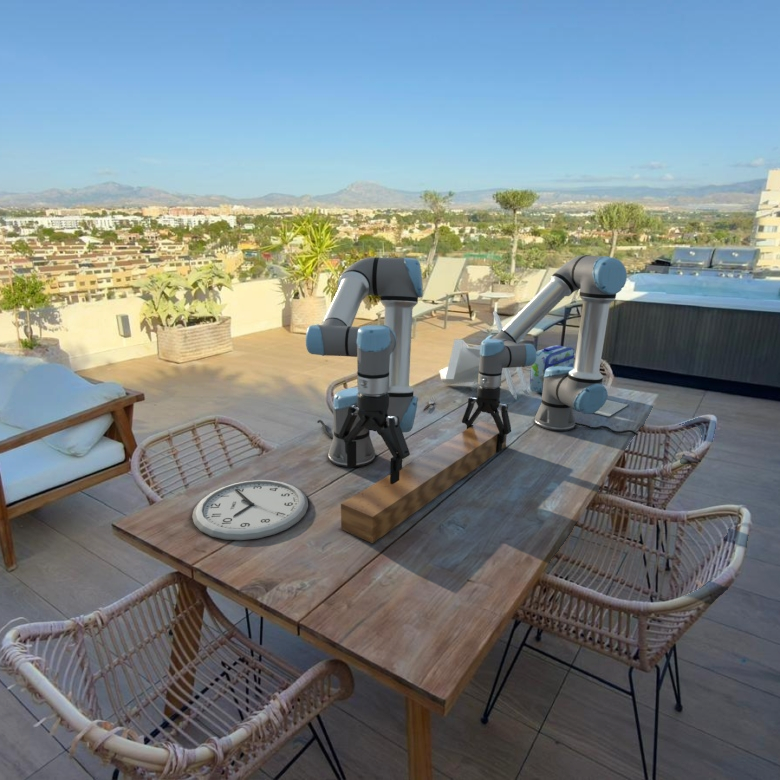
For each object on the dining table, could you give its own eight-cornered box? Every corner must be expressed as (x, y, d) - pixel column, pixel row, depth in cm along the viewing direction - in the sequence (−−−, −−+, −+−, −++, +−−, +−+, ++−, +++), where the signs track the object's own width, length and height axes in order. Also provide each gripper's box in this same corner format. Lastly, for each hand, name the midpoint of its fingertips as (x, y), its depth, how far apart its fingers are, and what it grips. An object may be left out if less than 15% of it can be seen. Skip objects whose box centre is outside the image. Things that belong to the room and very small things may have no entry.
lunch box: (546, 398, 236) (551, 353, 229) (525, 393, 243) (529, 349, 237) (573, 387, 253) (579, 344, 247) (553, 382, 260) (558, 341, 254)
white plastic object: (461, 429, 252) (437, 405, 227) (444, 352, 274) (420, 323, 250) (535, 404, 240) (518, 377, 215) (510, 326, 262) (492, 293, 237)
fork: (420, 411, 216) (420, 406, 216) (430, 400, 230) (431, 395, 230) (426, 412, 215) (426, 407, 215) (436, 401, 230) (436, 396, 229)
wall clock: (304, 532, 127) (176, 536, 124) (304, 538, 127) (177, 542, 125) (311, 475, 155) (207, 478, 153) (311, 480, 156) (208, 483, 153)
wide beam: (479, 439, 189) (481, 420, 187) (505, 446, 183) (507, 427, 181) (341, 529, 132) (340, 503, 129) (372, 543, 126) (372, 516, 124)
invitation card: (608, 416, 214) (573, 407, 224) (608, 416, 214) (573, 408, 224) (628, 404, 229) (594, 396, 238) (628, 405, 229) (594, 397, 238)
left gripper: (323, 385, 127) (325, 465, 133) (407, 407, 113) (404, 495, 119) (344, 379, 133) (344, 455, 139) (426, 398, 119) (423, 483, 125)
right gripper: (453, 382, 178) (450, 442, 185) (516, 395, 165) (510, 459, 172) (464, 377, 184) (460, 436, 190) (525, 389, 171) (519, 452, 177)
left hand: (372, 473), depth 129 cm, fingers open, 13 cm apart
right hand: (484, 447), depth 181 cm, fingers closed on wide beam, 10 cm apart
